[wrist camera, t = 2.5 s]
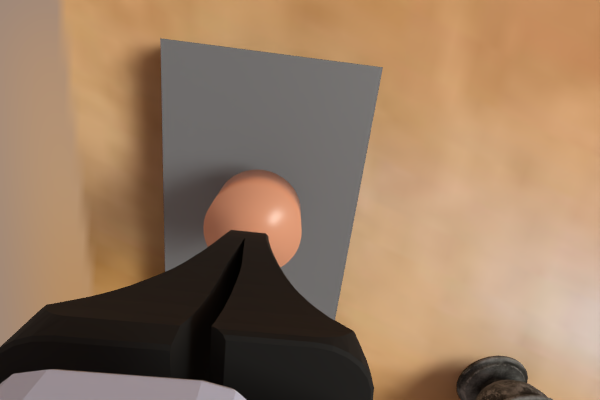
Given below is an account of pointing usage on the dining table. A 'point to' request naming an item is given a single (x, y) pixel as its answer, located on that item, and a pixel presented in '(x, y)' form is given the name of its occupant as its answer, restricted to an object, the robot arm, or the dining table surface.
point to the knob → (257, 211)
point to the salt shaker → (497, 381)
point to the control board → (266, 147)
